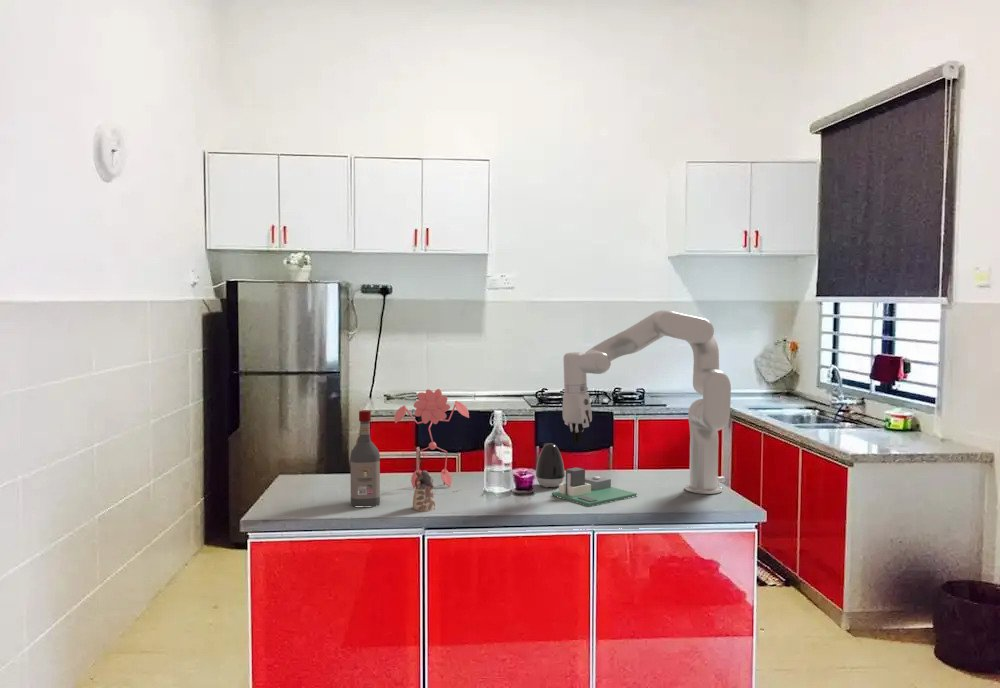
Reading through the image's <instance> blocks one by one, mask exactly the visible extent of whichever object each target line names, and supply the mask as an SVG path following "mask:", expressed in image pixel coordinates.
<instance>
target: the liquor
mask: <svg viewBox="0 0 1000 688" xmlns="http://www.w3.org/2000/svg"><path fill="white" fill-rule="evenodd" d="M371 412H372V411H371V410H368V409H367V410H359V411H358V421H359V423H360V426H359V430H360V431H359V435H360V436H359V441H357V443H356V445H355V446H354V447H353V448H352V449H351V452H350V458H349V459H350V460H349V461H350V464H349V465H350V505H351V506H352V505H353V506H375V507H377V506H376V505H378V506H379V505H380V503H381V479H380V478H381V476H380V475H381V470H380V469H381V468H380V467H381V465H380V464H381V462H380V461H381V460H380V459H381V455H380V451H379V449H378V447H377V446H376V445H375V444H374V442H372V440H371V434H370V433H371V431H370V430H371V428H370V427H371V426H370V425H371V424H370V423H371V420H372V419H371V418H372V416H371V415H372V414H371Z"/></svg>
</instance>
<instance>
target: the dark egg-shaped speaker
mask: <svg viewBox="0 0 1000 688" xmlns="http://www.w3.org/2000/svg"><path fill="white" fill-rule="evenodd" d="M562 457H563V456H562V454H561V451H560V450H559V448H558V446H557V445H556V444H555V443H552V442H550V443H547V442H546V443H545V442H544V443H543V447H542V449H541V451H540V453H539V455H538V459H537V464H536V468H535V469H536V470H535V477H536V481H537V482H538V484H539V485H540V486H542V487H544V488H548V487H554V488H558V487H559V484H561V483H564V482H563V481H564V478H566V470H565V466H564V460H563V458H562Z"/></svg>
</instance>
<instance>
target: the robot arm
mask: <svg viewBox="0 0 1000 688" xmlns="http://www.w3.org/2000/svg"><path fill="white" fill-rule="evenodd" d="M714 333H715V328H714V326H713V324H712V322H711V321H710V320H708V319H707V318H703V317H699V316H694V315H690V314H684V313H680V312H677V311H673V310H663V309H662V310H658V311H655V312H654V313H651V314H650V315H647V316H646V317H645V318H643V319H641V320H640V321H638V322H636V323H634V324H633V325H631V326H630V327H628V328H626V329H625V330H622V331H620V332H618V333H617V334H615V335H612V336H610V337H609V338H607V339H604V340H603V341H602V342H600V343H598V344H596V345H594V346H593V347H591V348H590V349H588V350H586V351H585V353H583V352H579V351H578V352H575V351H574V352H567V353H565V354H563V379H564V380H563V385H564V393H563V397H562V408H561V409H562V412H561V413H562V420H563V421H564V425H566V426H568V427H569V429H570V432H571V444H573V445H579V444H583V432H584V429H585V428H589V427H590V423H591V422H592V420H593V414H592V405H591V398H590V394H589V393H588V390H589V388H588V384H587V382H588V381H587V380H588V379H587V374H593V375H595V374H596V375H601V374H605V373H606V372H608V370H610V367H611V365H612V364H611V363H612V361H614V360H616V359H618V358H620V357H623V356H627V355H632V354H635V353H637V352H640V351H641V350H644V349H645V348H646V347H648V346H650V345H651V344H653V343H655V342H657V341H658V340H660V339H662V338H663V337H671V338H674V339H677V340H682V341H685V342H687V343H688V344H689V346H690V347H691V349H692V355H693V369H692V370H693V371H692V372H693V373H692V387H693V389H694V392H695V391H696V393H698V394H700V395H702V398H698V399H696V400H695V401H693V402H692V403H691V404H690V406H689V409H688V415H687V416H688V417H687V418H688V424H689V438H690V439H689V475H688V476H689V477H688V478H689V479H688V482H689V483H686V484H685V485H684V490H685V491H687V492H689V493H694V494H700V495H701V494H702V495H703V494H704V495H713V494H719V493H722V492H723V487H722V486H720V484H721V483H722V482H723V483H724V482H725V481H726V477H725V476H723V475H721V476H719V442H720V441H719V440H720V439H719V431H721V430H723V429H724V428H726V427H727V425H728V423H729V421H730V415H731V402H732V401H731V397H732V396H731V395H732V385H731V381H730V378H729V377H728V375H727V374H726V373H725V371H724V372H723V371H722V370H720V349H719V346H718V342H717V341H716V339H715V337H714V335H715V334H714Z"/></svg>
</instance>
